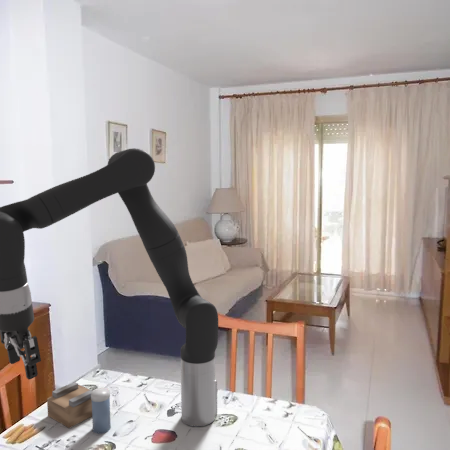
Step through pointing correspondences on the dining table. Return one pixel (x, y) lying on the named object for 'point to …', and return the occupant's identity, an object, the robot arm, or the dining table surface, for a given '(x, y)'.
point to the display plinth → (68, 411)
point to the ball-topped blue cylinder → (101, 410)
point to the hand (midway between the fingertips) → (23, 369)
